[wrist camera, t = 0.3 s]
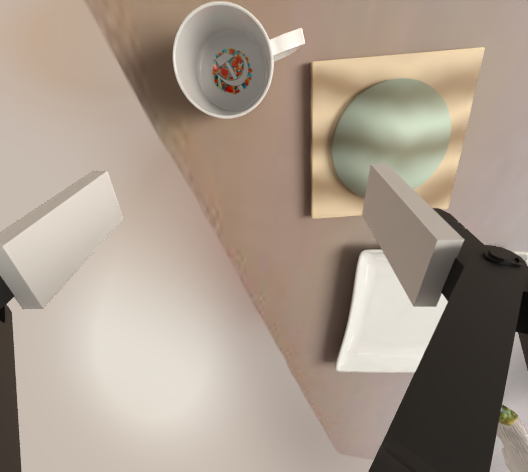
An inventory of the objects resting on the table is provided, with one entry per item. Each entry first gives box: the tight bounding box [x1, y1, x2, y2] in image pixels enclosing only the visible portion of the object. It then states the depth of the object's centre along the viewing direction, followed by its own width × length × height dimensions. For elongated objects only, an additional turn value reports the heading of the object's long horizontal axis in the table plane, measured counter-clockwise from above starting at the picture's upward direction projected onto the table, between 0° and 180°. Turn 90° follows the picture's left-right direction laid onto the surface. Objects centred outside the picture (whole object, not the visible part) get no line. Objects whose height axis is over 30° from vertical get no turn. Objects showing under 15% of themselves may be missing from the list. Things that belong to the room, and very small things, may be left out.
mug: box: [172, 1, 305, 119], centre depth 30 cm, size 12×9×11 cm
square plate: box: [335, 249, 528, 372], centre depth 51 cm, size 27×27×4 cm
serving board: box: [311, 47, 485, 219], centre depth 38 cm, size 20×20×2 cm
